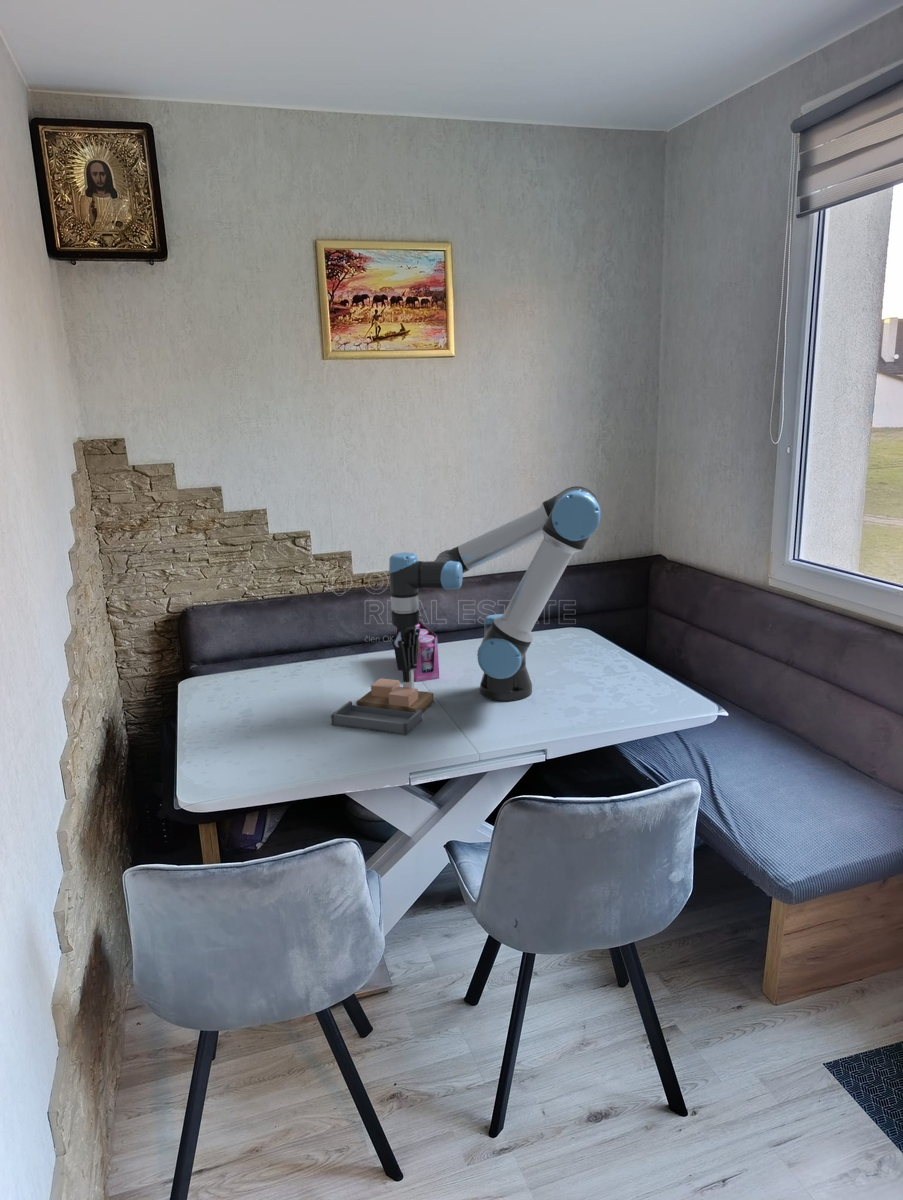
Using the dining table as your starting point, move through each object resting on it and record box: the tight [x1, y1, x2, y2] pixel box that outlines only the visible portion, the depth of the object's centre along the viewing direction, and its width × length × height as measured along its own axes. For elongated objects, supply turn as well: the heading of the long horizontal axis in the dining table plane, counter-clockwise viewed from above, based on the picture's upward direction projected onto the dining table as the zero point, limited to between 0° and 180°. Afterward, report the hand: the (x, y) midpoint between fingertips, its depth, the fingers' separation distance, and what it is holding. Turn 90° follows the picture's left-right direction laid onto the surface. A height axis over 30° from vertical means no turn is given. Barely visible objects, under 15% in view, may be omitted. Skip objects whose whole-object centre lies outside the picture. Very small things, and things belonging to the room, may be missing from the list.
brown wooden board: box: [356, 690, 435, 714], centre depth 216 cm, size 18×12×3 cm, turn 68°
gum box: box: [395, 620, 440, 682], centre depth 244 cm, size 24×8×14 cm, turn 18°
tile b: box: [370, 678, 401, 698], centre depth 218 cm, size 6×6×3 cm
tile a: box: [388, 686, 419, 707], centre depth 211 cm, size 6×6×3 cm
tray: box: [330, 700, 423, 736], centre depth 205 cm, size 22×10×3 cm, turn 68°
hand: (408, 691), depth 214 cm, fingers closed
